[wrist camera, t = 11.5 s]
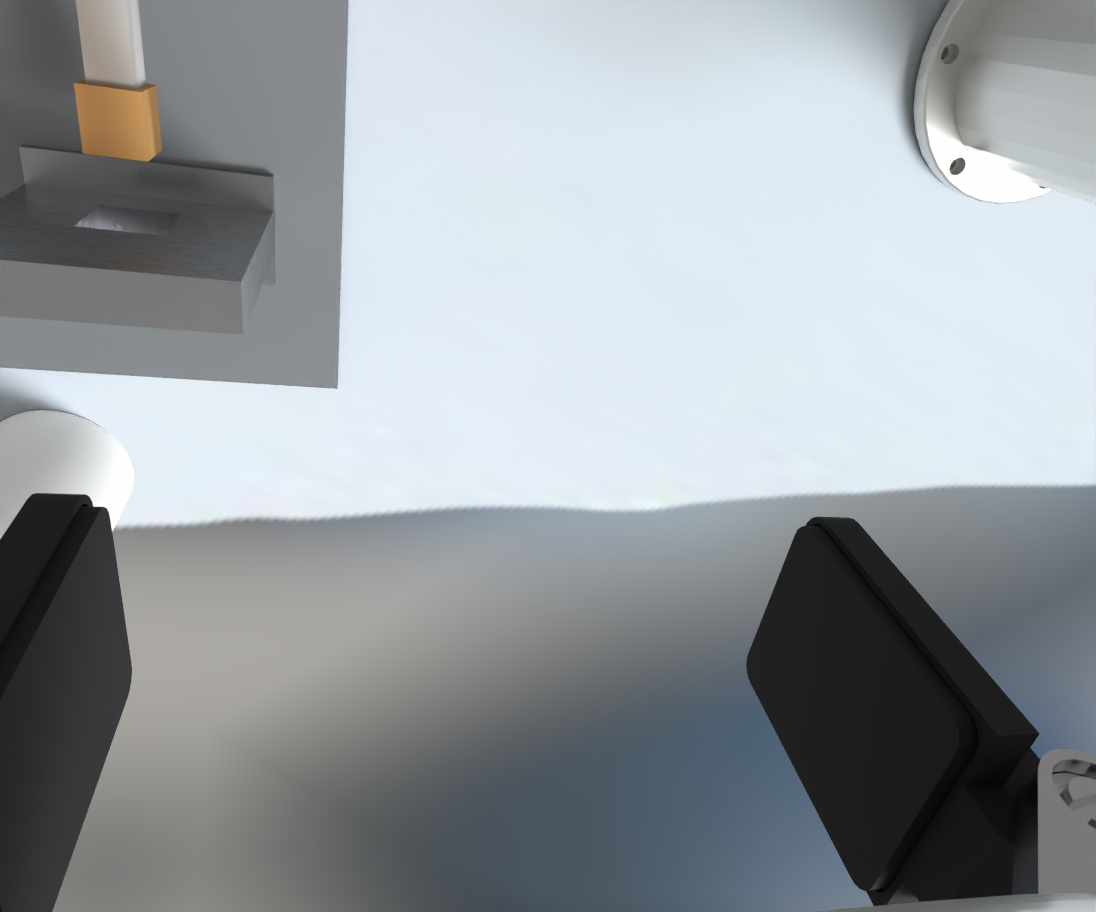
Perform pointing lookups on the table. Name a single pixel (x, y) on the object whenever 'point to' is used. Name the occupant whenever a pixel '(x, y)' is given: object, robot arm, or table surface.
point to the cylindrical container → (60, 462)
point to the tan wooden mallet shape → (115, 83)
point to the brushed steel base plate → (135, 242)
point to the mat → (212, 141)
